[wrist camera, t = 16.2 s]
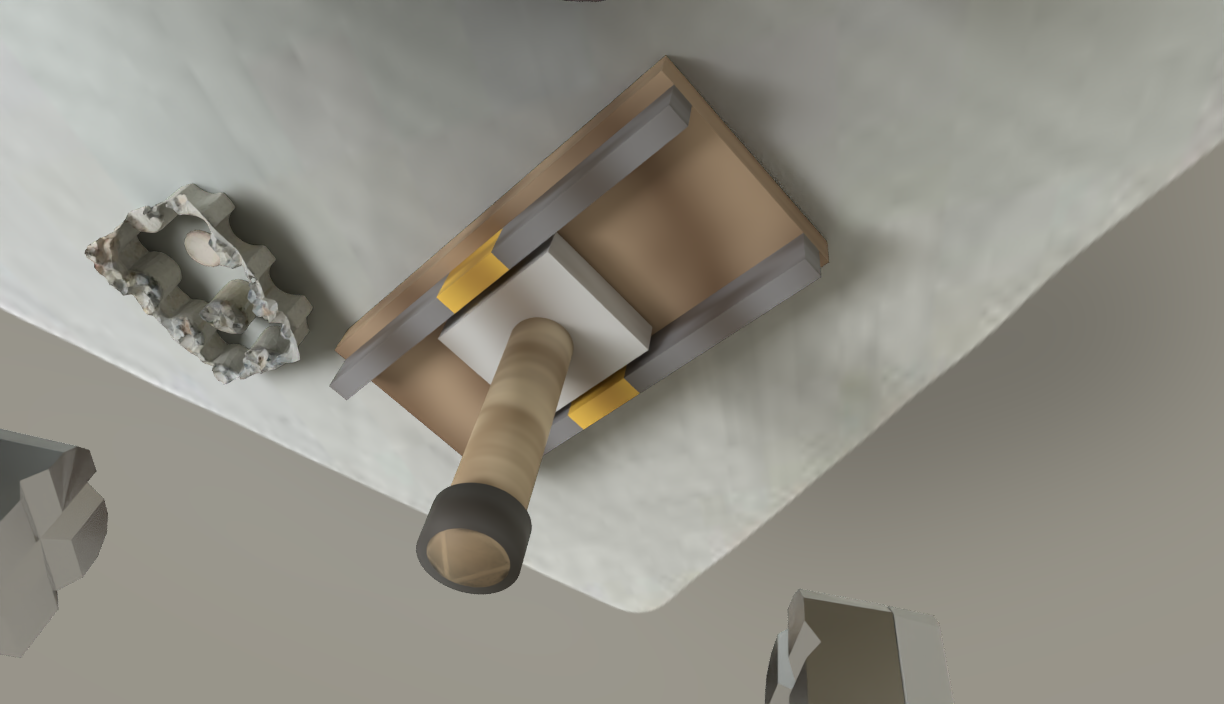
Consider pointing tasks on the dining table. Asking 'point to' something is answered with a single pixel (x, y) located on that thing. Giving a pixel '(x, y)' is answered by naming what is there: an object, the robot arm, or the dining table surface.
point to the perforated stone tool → (585, 0)
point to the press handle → (521, 404)
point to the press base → (604, 256)
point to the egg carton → (230, 308)
